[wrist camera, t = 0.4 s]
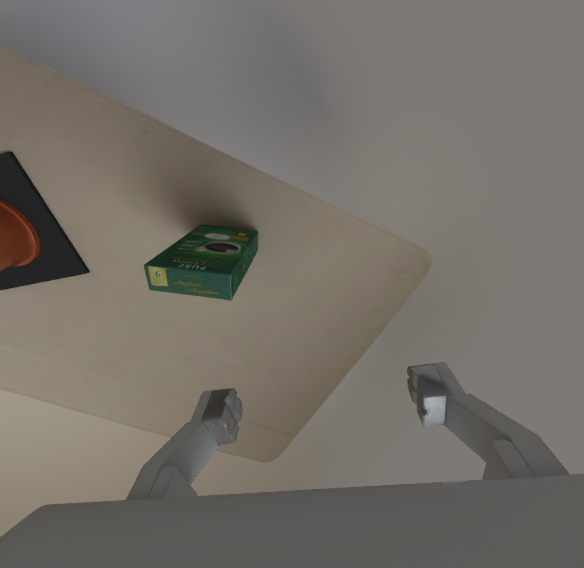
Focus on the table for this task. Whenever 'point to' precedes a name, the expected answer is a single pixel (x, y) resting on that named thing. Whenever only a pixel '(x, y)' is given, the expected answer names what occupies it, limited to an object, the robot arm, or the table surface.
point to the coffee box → (204, 263)
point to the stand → (16, 237)
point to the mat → (53, 241)
